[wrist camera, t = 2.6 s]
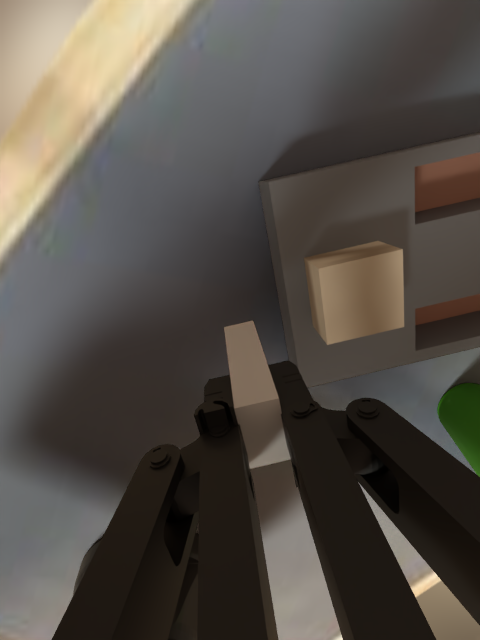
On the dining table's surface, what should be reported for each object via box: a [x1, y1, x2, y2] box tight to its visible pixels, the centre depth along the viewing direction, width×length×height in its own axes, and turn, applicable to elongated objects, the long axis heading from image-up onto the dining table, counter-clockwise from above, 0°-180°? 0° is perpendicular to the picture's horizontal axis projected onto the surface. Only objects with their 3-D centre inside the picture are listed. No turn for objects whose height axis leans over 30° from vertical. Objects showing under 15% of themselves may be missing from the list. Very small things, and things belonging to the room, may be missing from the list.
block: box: [304, 241, 404, 345], centre depth 22 cm, size 5×5×3 cm
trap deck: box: [258, 132, 480, 388], centre depth 25 cm, size 28×15×6 cm, turn 102°
